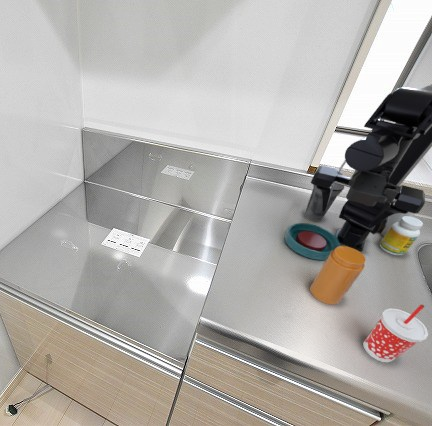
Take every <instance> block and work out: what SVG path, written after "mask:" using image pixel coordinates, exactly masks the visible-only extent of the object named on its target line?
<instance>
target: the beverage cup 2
mask: <svg viewBox="0 0 432 426" xmlns="http://www.w3.org/2000/svg"><path fill="white" fill-rule="evenodd" d="M424 308H425V305H424V304H420V305H419V306H418V307H417V308H416V309H415V310H414V311H413V312H412V313H409V312H407V311H404V310H402V309H399V308H386V309H384V310H383V312H382V313H381V315H380V318H379V320H378V322H377V323H376V324H375V326H374V327H373V329H372V330H371V331H370V333H369V334H368V335H367V337H366V338H365V339H364V341H363V343H362V344H363V345H362V346H363V349H364V350H365V353H367V354H368V355H369V356H370V357H371V358H373V359H375V361H379V362H382V363H391V362H393V361H394V360H395V359H397V358H398V357H400V356H401V355H402V354H404V353H405V352H406V351H408V350H409V349H411V348H412V347H414V346H415V345H416V344H419V343H421V342H424V340H425V341H426V340H427V338H428V336H429V331H428V329H427V327H426V326H425V325H424V323H423V322H422V321H421V320H420V319H418V318H417V317H416V316H417V315H418V314H419V313H420V312H421V311H422V310H423V309H424Z"/></svg>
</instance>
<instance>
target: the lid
mask: <svg viewBox="0 0 432 426" xmlns="http://www.w3.org/2000/svg"><path fill="white" fill-rule="evenodd" d="M296 242H297V243H298V244H300V245H302V246H304V247H306V248H308V249H311V250H315V251H319V252H321V251H323V250H324V249H325V247H326V244H327V242H326V240H325V239H324V238H323V237H322V236H320V235H319V234H317V233H314V232H310V231H302V232H300V233H299V234H298V236H297V237H296Z"/></svg>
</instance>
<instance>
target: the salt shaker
mask: <svg viewBox="0 0 432 426" xmlns="http://www.w3.org/2000/svg"><path fill="white" fill-rule="evenodd" d="M415 214H416V213H411V212H408V213H406V214H403V213H396V214H393V215H391V216H389V217H388V222H387V225H386V227H385V229H384V230H383V232H382V233H379V234H380V235H382V236H383V237H384V236H385V235H386V234H387V232H388V231H389V229H390V228H391V226H392V225H393V224H394V223H396V222H399V221H400V220H401V218H402V217H404V216H410V217H414V218H415Z"/></svg>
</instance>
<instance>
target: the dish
mask: <svg viewBox="0 0 432 426" xmlns="http://www.w3.org/2000/svg"><path fill="white" fill-rule="evenodd" d="M302 231H310V232H314V233H317V234H319V235H320V236H322V237H323V238H324V239H325V240H326V242H327V244H326V247H325V249H324V250H323V251H321V252H319V251H315V250H311V249H308V248H306V247H304V246H302V245H300V244H298V243H297V242H296V237H297V236H298V234H299V233H300V232H302ZM335 236H336V235H335V234H334V233H332V232H331V231H329V230H328V229H326V228H324V227H322V226H319V225H316V224H312V223H307V222H297V223H293V224H291V225H290V226H288V228H287V231H286V232H285V235H284V241H285V243H286V244H287V246H288V247H289V248H290V249H291V250H292V251H294V252H295V253H297V254H299V255H301V256H302V257H305V258H307V259H312V260H317V261H324V260H325V261H326V259H327V258H328V256H329V254H330V252H331V251H333V250H334V249H335V248H337V247H339V246H341V244H340V243H339V241H338V239H337V238H336V237H335Z"/></svg>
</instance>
